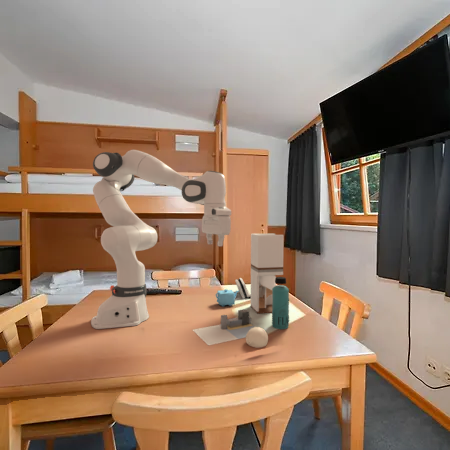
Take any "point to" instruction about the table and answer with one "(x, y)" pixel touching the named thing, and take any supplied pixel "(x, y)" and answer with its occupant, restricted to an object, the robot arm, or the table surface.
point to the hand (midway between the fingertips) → (214, 245)
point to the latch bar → (240, 319)
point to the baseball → (257, 337)
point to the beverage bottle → (280, 304)
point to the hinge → (242, 288)
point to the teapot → (226, 297)
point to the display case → (265, 269)
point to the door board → (222, 332)
